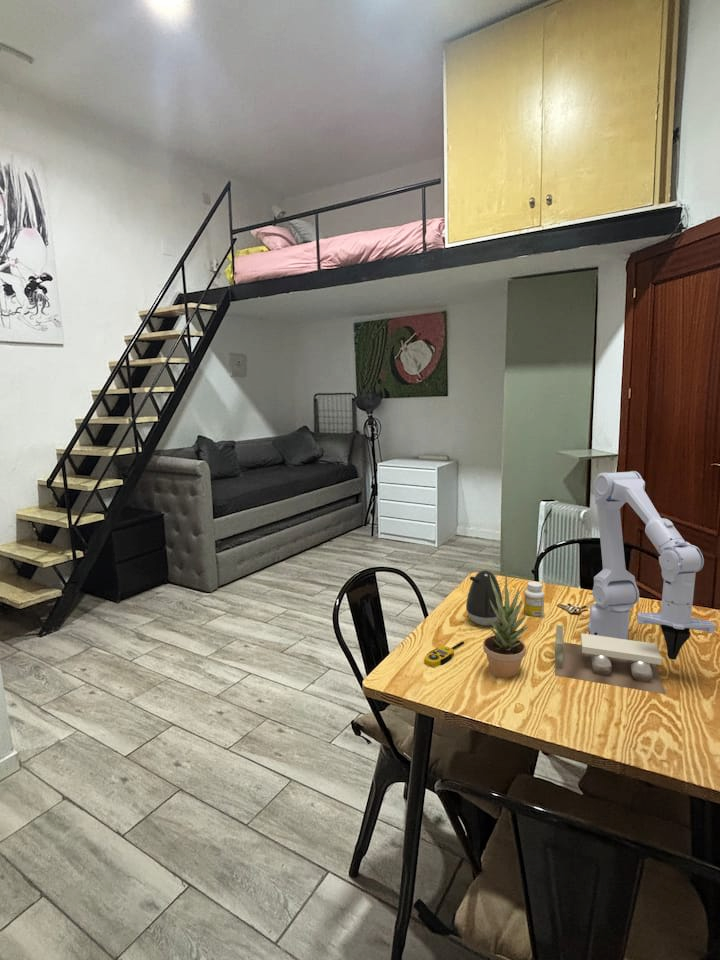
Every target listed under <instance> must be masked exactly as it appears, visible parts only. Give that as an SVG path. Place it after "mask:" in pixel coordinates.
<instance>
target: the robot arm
mask: <svg viewBox="0 0 720 960" xmlns="http://www.w3.org/2000/svg"><path fill="white" fill-rule="evenodd" d="M592 483H593V492H594V501H595V503H594V504H596V509H597V519H598V531H599V538H600V539H599V540H600V550H601V560H602V562H601V563H602V564H601V565H602V570H601V571H600V572H598V573H597V574H596V575H595V576H593V587H592V597H593V600H594V602H595V603H590V608H589V621H588V625H587V626H588V628H587V629H588V631H589V634H590V635H597V636H604V637H611V638H618V639H625V640H629V631H630V630H629V627H630V617H631V616H630V615H631V609H634V605H636V604H637V603H638V602H639V600H640V590H639V588H638V585H637V582H636V577H635V575H633V574H632V573H631V572H629V571H628V570H627V567H626V559H625V550H624V548H625V547H624V540H623V539H624V538H623V537H624V536H623V528H622V527H623V526H622V518H621V508H622V507H623V506H624V505H625V504H626V503H627V504H629V506H630V507H631V508H632V509H633V511H634V512H635V513H636V514H637V516H638V517H639V518H640V519H641V520H642V522H643V523H644V524H645V529H644V532H645V535H646V536H647V539H649V540H650V542H651V543H652V545H653V546H654V547H655V550H657V552H658V554H659V555H660V556H658V563H659V566H660V569H661V576H662V579H663V584H662V585H663V586H662V596H661V606H660V612H637V616H636V618H637V619H636V620H637V624H639V625H644V624H646V625H647V624H648V625H655V626H659V627H660V628H661V631H662V636H663V637H664V640H665V646H666V654H667V655H666V656H667V657H668V659H669V660H675V661H676V660H677V658H678V655H679V653H680V651H681V649H682V647H683V645H684V644H685V643H686V642H687V641H688V640H689V639H690V638H691V637H690V636H691V632H690V630H692V631H694V630H695V631H702V632H707V633H709V634H715V632H716V631H715V630H716V624H715V623H714V621H712V620H711V621H710V620H704V619H700V618H696V617H693V616H692V613H693V612H692V611H693V603H694V593H695V581H696V574H697V572H701V570H702V569H703V567H704V565H705V559H704V556H703V553H702V551H701V549H700V548H699V547H698V546H696V545H693V544H691V543H690V542H688V541H685V539H684V538H683V537H682V535H681V534H680V532H679V531H678V530H677V528H676V527H675V526H674V523H673V522H672V521H671V520H670V519H668V518H665V517H663V518H662V517H661V515H660V514H659V512H658V511H657V509H656V508H655V506H654V504H653V503H652V500H651V499H650V497H649V495H648V494H647V492H646V491H645V489H646V481H645V480H644V479H643V477H642V475H641V473H640V472H638V471H636V470H631V471H621V472H619V471H618V472H600V473H598V474H597V476H596V478H595V479H594V481H593V482H592ZM595 633H596V634H595Z"/></svg>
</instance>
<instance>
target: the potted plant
mask: <svg viewBox="0 0 720 960" xmlns="http://www.w3.org/2000/svg"><path fill="white" fill-rule="evenodd" d="M504 580H505V581H504V602H503V603H502V602H501V599H500V597H499V595H498V592H497V590H496V588H495V585H494V583H493V581H492V578H491V576H490V581H491V585H492V588H493V591H494V594H495V597H496V602H497V606H498V610H499V611H498V610H497V609H496V608H495V607H494V605H493V604H492V602H491V600H490V603H491V606H492V608H493V610H494V612H495V614H496V616H497V618H498V620H499V621H498V622H497V621H495V622H496V623H495V622H493V621H492V620H491V619H490V617H489V621H490V623H491V624H492V625H491V626H492V627H490V629H491V631H492V633H493V635H491V636H488V637H486V638H484V640H483V642H482V646H483V647H482V648H483V651H484V653H485V656H486V658H487V662H488V666H489V669H490V670H489V671H490V673H491V675H492V676H493V677H495V678H496V679H498V678H499V677H503V678H512V677H514V676H517V675H518V673H519V670H520V668H521V665H522V662H523V658H525V656H526V653H527V646H526V643H525V642H524V641H523V640H521V638H522V636H521V635H522V634H523V633H525V631H526V630H527V629H529V628H528V627H529V626H527V625H526V624H524V625H523V626H522V627H521V628H519V627H520V625H522V623H523V621H525V619H526V617H527V616H525V615H524V616H523V617H522V618H520V619H519V620H518V615H519V612H520V609H521V607H522V602H523V601H522V599H521V600H520V602H519V603H518V598H519V594H520V588H518V590H517V591H516V594H515V596H514V598H513V600H512V603H511V604H510V593H509V588H508V576H507V574H505V579H504ZM517 603H518V605H517ZM518 628H519V629H518Z"/></svg>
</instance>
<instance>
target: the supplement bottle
mask: <svg viewBox="0 0 720 960" xmlns="http://www.w3.org/2000/svg"><path fill="white" fill-rule="evenodd" d="M542 589H543V584H542V582H539V581H535V580H534V581H533V580H532V581H529V582H527V588H526V589H525V591H524V600H523V602H524V603H523V614H524V616H526V617H533V618H534V617H535V618H539V619H542V618H543V617H544V614H545V613H544V611H545V608H544V607H545V592H544V591H543V590H542Z"/></svg>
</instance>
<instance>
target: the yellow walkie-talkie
mask: <svg viewBox="0 0 720 960" xmlns="http://www.w3.org/2000/svg"><path fill="white" fill-rule="evenodd" d="M464 643H465V642H464V641H463V640H462V641H460V642H459V643H457V644H455V645H454V646H451V647H450V646H446V645H445V646H441V647H437V648H434V649H433V650H430V651H429V652H428V653H427V654H426V655H425V657H424V658H423V660H424V661H423V664H424V665H425V666H428V667H430V668H436V667H440V666H442V665H445V664H447V663H449V662H450V661H451V660H452V659H453V657H454V656H455V649H457V648H459V647H460V646H462V645H463V644H464Z"/></svg>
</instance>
